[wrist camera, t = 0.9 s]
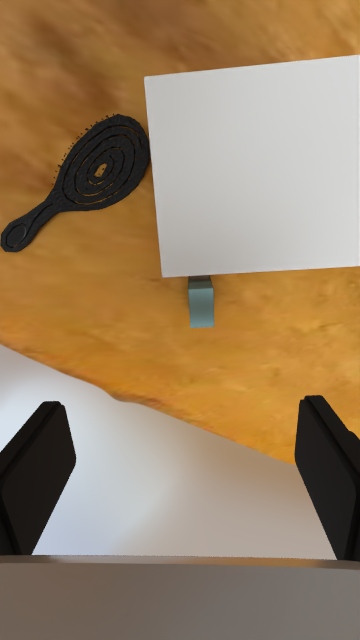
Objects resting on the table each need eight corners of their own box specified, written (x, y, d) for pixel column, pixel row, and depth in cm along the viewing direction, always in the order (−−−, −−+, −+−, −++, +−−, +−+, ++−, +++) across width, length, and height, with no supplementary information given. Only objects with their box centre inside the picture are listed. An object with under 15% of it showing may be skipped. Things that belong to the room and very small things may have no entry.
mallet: (182, 169, 35) (180, 159, 29) (206, 167, 35) (209, 156, 28) (190, 310, 42) (190, 327, 35) (210, 309, 42) (214, 326, 35)
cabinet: (164, 136, 34) (143, 76, 19) (307, 123, 33) (403, 50, 18) (173, 253, 39) (162, 277, 24) (297, 245, 38) (366, 265, 23)
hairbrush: (-31, 223, 36) (118, 88, 29) (-11, 222, 39) (127, 100, 33) (14, 276, 38) (162, 162, 32) (30, 270, 42) (166, 166, 35)
